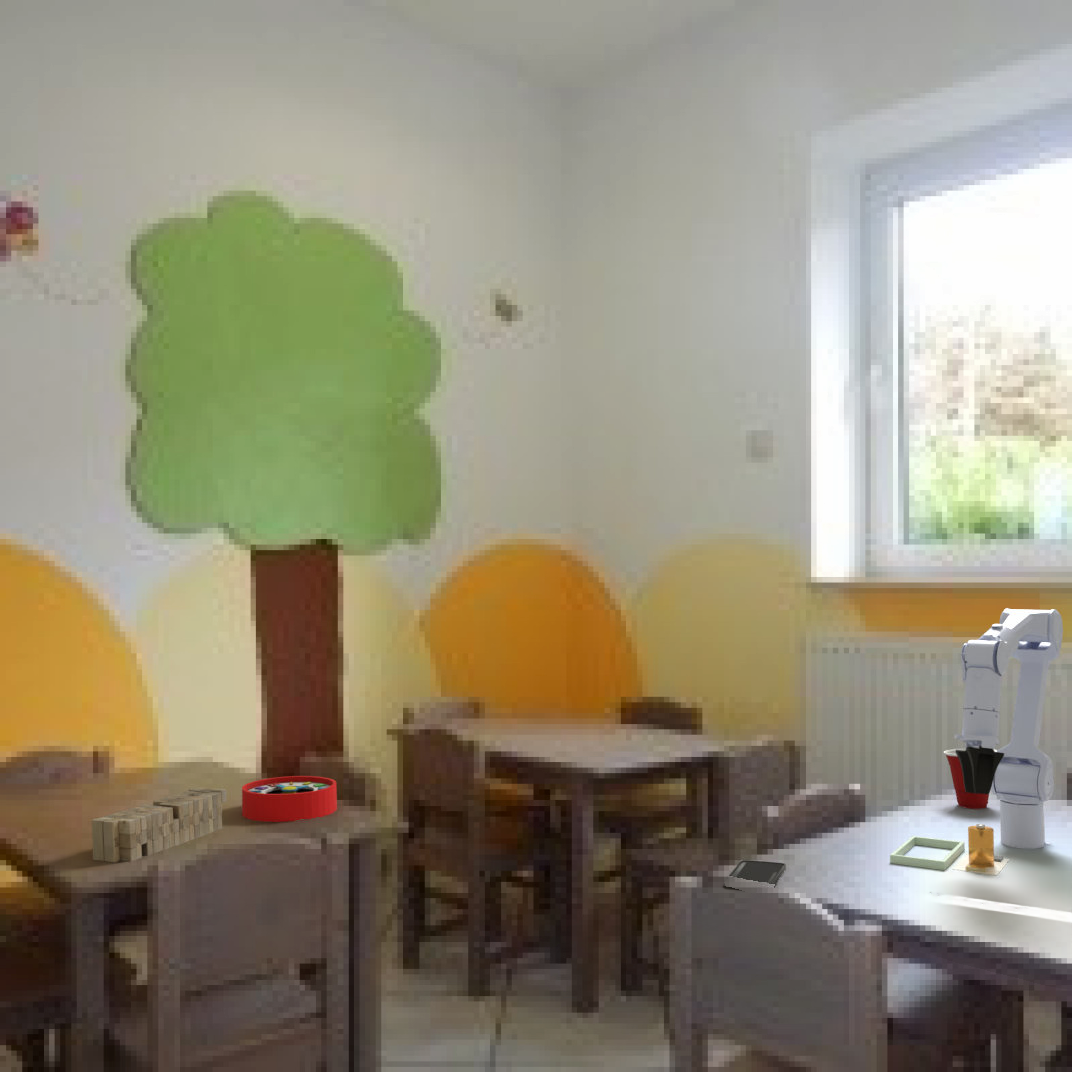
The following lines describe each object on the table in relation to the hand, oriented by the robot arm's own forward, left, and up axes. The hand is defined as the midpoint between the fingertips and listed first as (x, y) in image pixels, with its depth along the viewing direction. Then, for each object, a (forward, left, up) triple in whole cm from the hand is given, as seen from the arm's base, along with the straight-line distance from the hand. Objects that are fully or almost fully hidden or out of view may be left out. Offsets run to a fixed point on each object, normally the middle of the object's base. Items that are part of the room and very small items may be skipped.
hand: (976, 793), depth 188 cm
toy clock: (+20, -137, -14) cm, 140 cm away
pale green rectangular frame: (-5, -9, -14) cm, 18 cm away
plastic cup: (-55, -12, -14) cm, 58 cm away
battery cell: (-4, 0, -13) cm, 13 cm away
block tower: (+52, -139, -14) cm, 149 cm away
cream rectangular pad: (-4, 0, -14) cm, 14 cm away
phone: (+18, -32, -15) cm, 39 cm away
